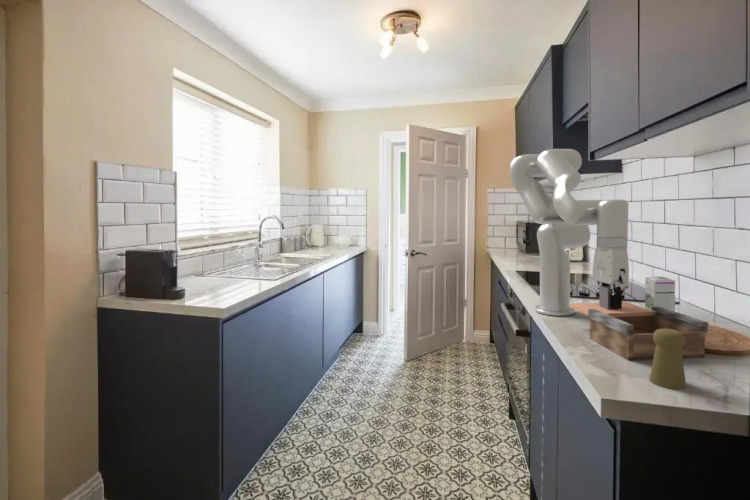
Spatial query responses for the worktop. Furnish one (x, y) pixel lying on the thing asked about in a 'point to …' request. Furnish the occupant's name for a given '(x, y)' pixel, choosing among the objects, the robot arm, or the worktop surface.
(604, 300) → the lid
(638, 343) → the box
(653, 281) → the syrup box
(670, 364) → the cork
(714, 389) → the worktop surface
